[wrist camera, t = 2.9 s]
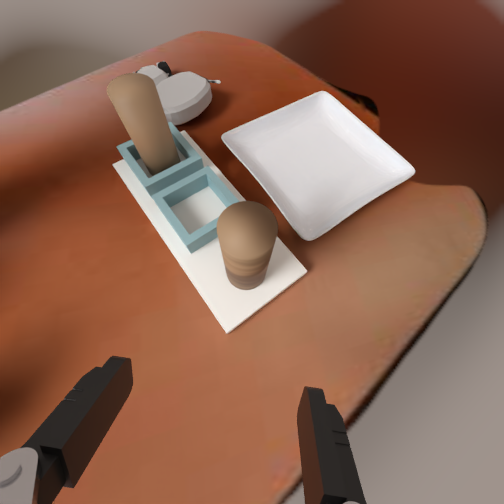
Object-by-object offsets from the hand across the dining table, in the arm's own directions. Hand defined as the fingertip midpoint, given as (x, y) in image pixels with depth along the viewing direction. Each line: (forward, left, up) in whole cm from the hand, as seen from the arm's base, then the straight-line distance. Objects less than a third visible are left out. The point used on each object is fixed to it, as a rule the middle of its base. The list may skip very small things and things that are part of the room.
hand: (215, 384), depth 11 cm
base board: (+7, +17, -16) cm, 25 cm away
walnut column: (+7, +7, -15) cm, 18 cm away
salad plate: (+26, +15, -17) cm, 35 cm away
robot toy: (+15, +40, -17) cm, 46 cm away
